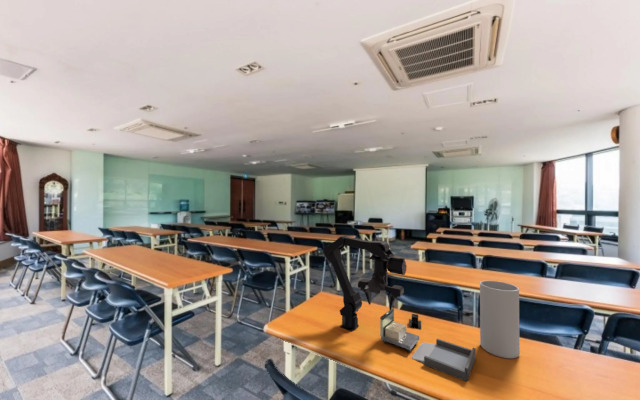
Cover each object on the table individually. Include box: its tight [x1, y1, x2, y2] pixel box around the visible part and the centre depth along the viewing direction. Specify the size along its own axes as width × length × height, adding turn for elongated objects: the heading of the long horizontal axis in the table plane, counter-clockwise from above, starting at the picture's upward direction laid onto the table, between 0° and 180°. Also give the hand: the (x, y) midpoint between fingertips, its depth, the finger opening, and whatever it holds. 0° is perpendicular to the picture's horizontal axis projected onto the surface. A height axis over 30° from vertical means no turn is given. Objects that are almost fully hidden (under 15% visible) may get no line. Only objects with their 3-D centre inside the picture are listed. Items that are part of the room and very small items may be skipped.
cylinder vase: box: [479, 280, 521, 359], centre depth 99 cm, size 12×12×25 cm
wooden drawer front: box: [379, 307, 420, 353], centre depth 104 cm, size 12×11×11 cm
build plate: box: [408, 313, 422, 331], centre depth 120 cm, size 12×7×5 cm, turn 159°
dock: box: [410, 338, 476, 382], centre depth 93 cm, size 19×16×5 cm
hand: (379, 307), depth 109 cm, fingers open, 9 cm apart
